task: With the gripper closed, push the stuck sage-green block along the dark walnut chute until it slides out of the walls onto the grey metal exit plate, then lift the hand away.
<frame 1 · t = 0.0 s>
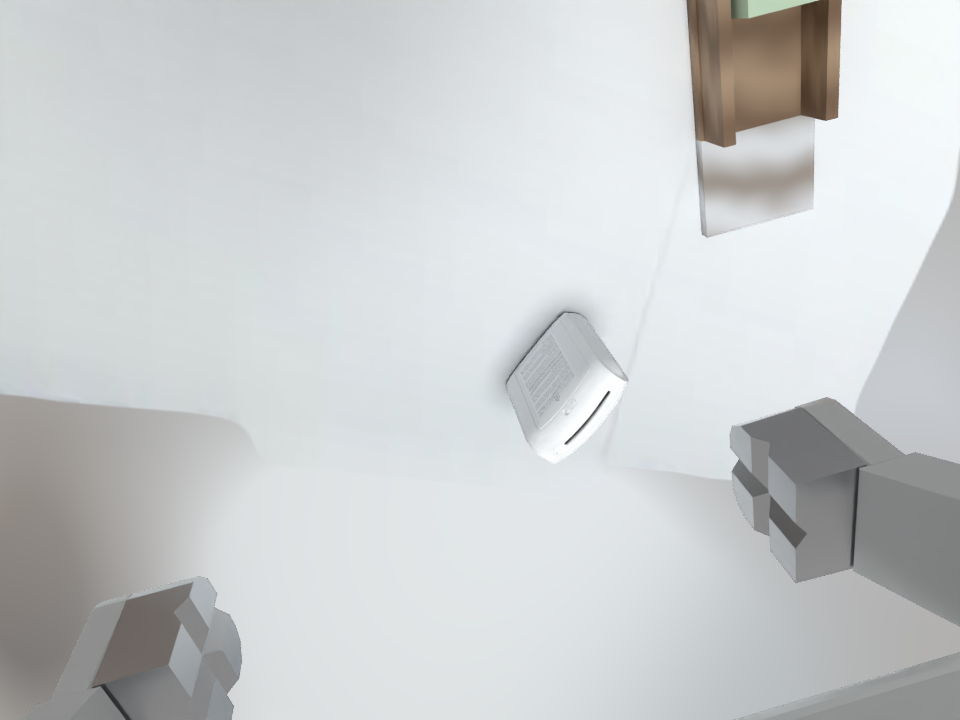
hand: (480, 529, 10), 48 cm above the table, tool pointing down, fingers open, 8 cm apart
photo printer: (547, 355, 65), on the table
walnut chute: (750, 68, 55), on the table
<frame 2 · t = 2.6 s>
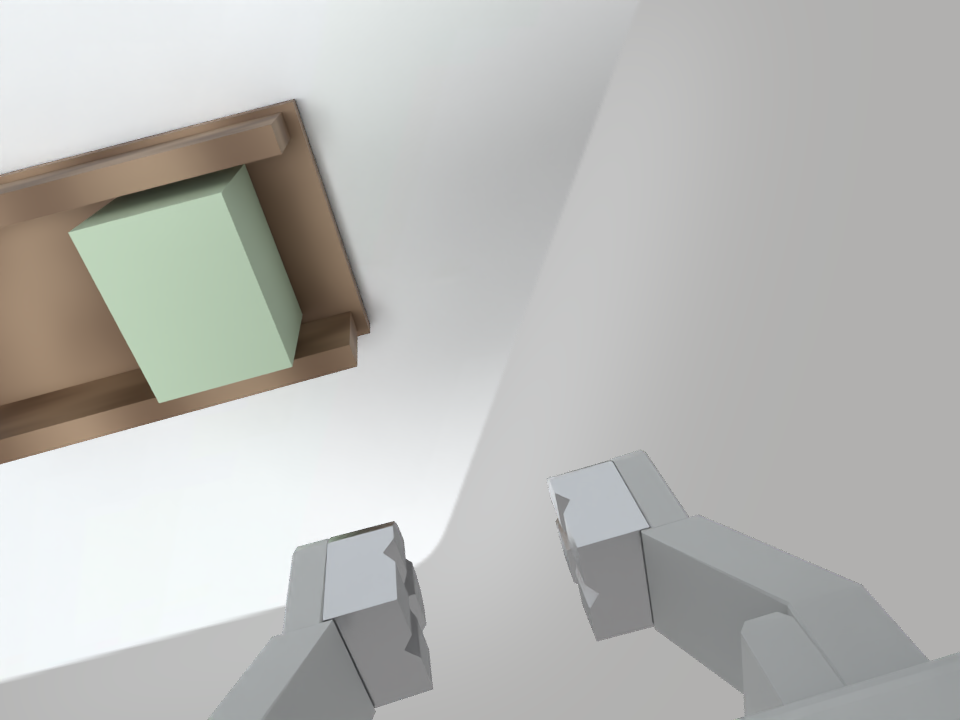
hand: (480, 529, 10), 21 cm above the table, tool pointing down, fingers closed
sage block: (203, 279, 25), point 4 cm above the table, slide at 0.0 cm
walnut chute: (57, 294, 28), on the table
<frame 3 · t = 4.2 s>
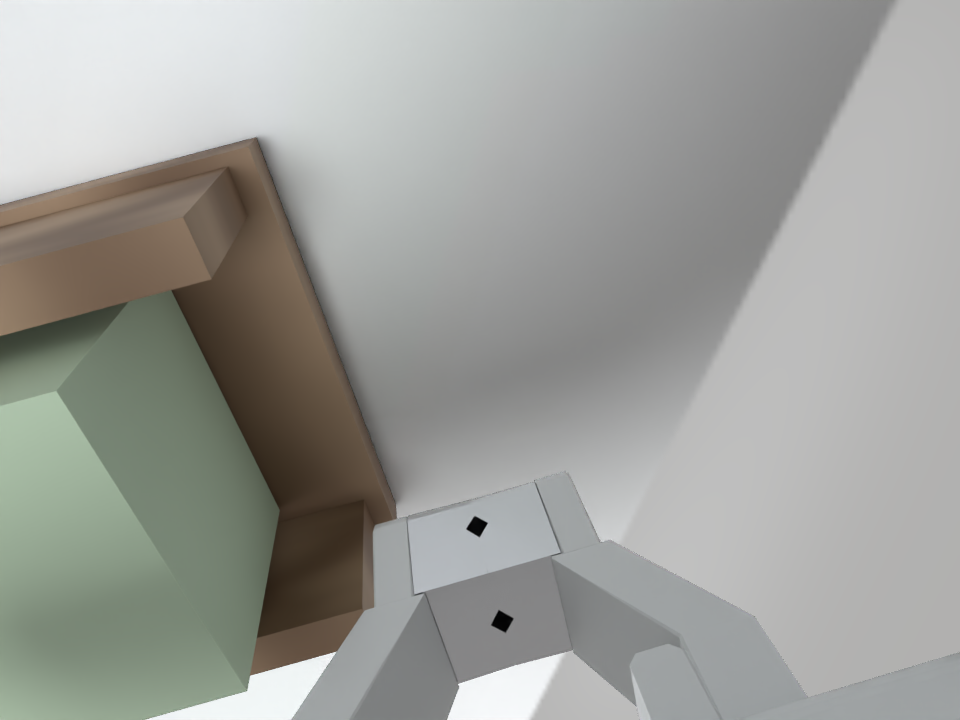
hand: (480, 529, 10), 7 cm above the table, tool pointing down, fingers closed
sage block: (72, 503, 13), point 4 cm above the table, slide at 0.0 cm
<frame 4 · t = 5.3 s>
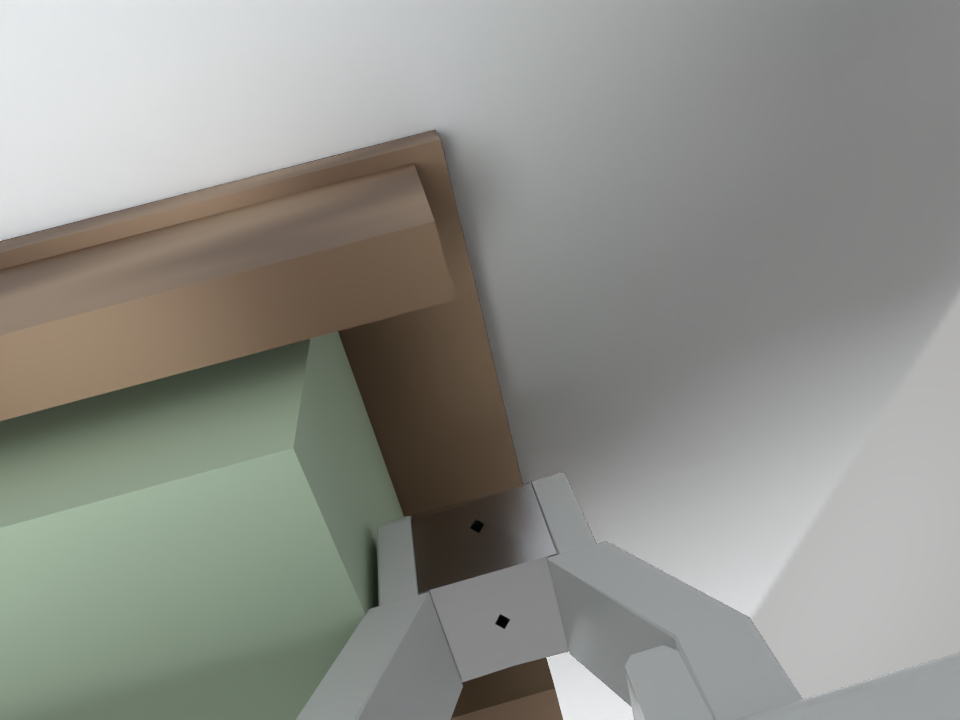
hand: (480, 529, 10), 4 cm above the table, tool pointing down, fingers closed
sage block: (224, 568, 11), point 4 cm above the table, slide at 0.0 cm, touching gripper
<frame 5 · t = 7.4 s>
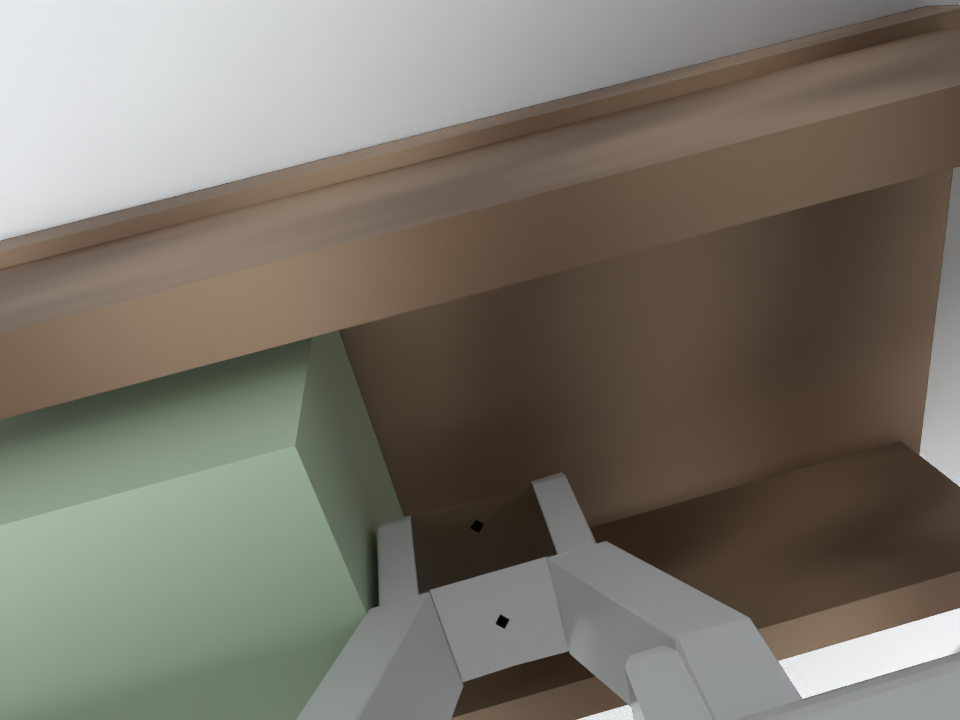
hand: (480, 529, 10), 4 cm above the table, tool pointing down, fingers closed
sage block: (224, 567, 11), point 4 cm above the table, slide at 9.0 cm, touching gripper
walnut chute: (352, 414, 14), on the table
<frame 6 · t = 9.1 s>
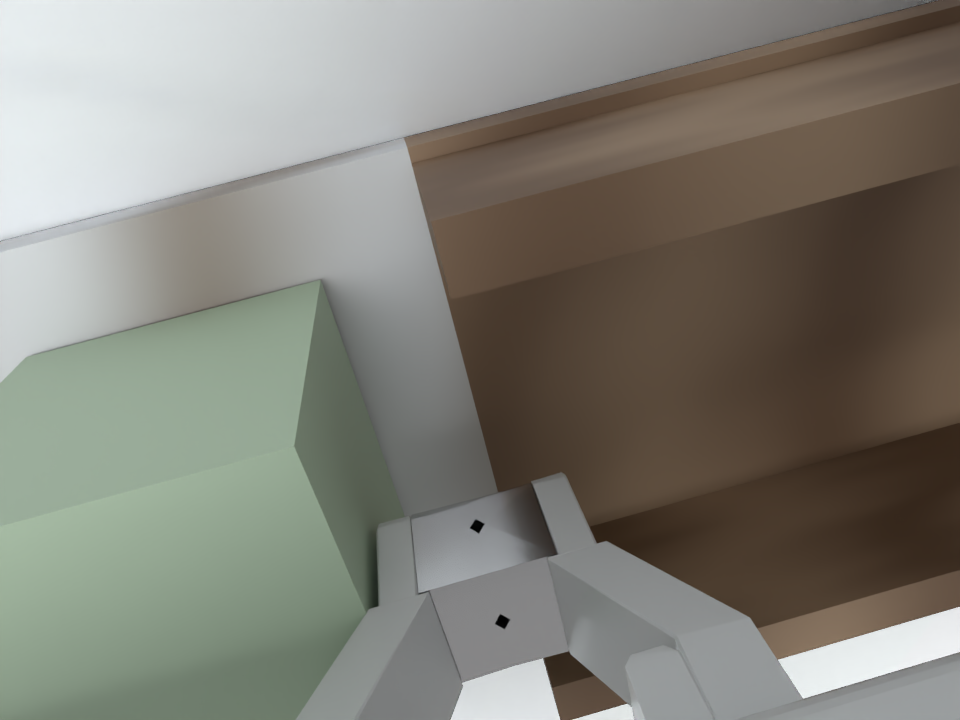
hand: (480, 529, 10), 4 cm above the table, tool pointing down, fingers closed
sage block: (225, 567, 11), point 4 cm above the table, slide at 16.0 cm, touching gripper
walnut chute: (676, 326, 14), on the table
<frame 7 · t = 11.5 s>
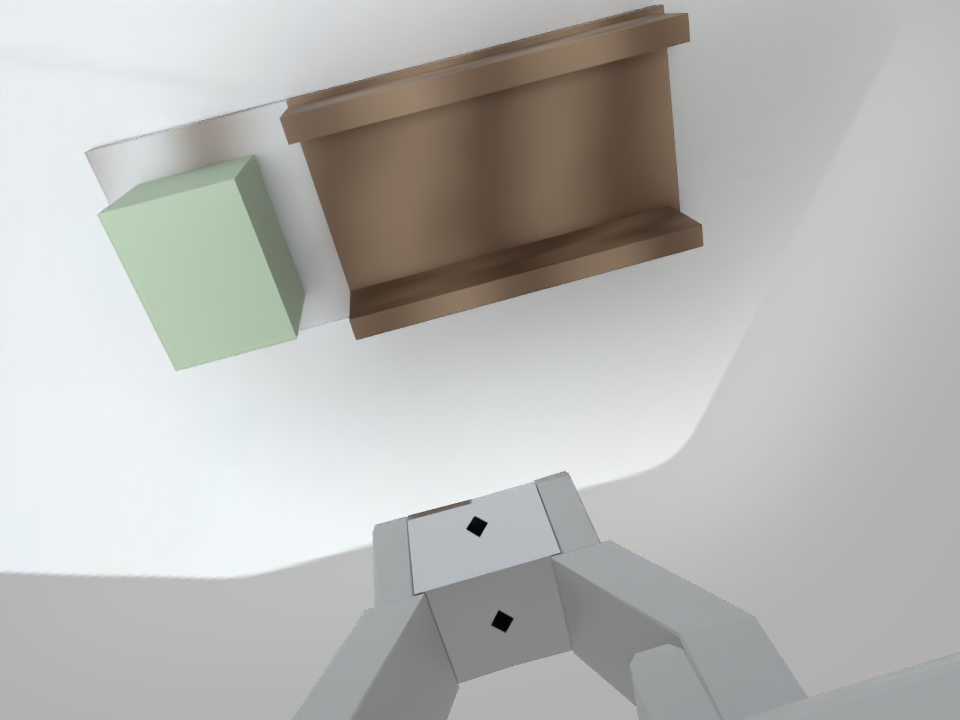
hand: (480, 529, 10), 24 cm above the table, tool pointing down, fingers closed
sage block: (215, 260, 28), point 4 cm above the table, slide at 16.0 cm
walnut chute: (419, 185, 32), on the table
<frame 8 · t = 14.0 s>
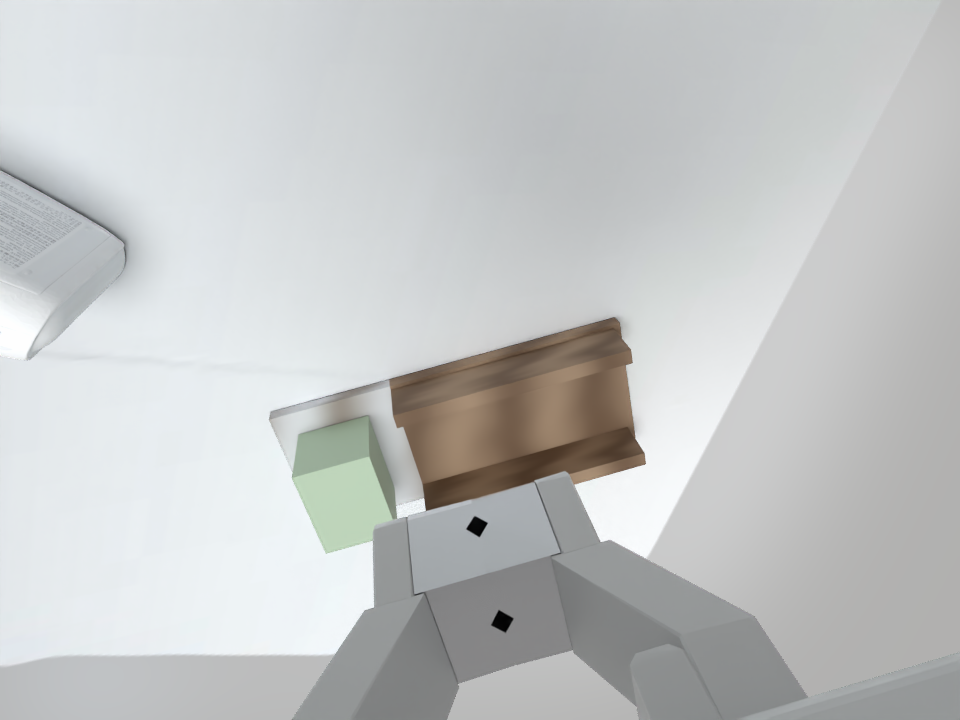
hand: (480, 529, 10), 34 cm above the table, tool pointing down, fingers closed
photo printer: (37, 221, 39), on the table
sage block: (347, 483, 46), point 4 cm above the table, slide at 16.0 cm
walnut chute: (467, 420, 50), on the table
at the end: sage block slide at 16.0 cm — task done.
